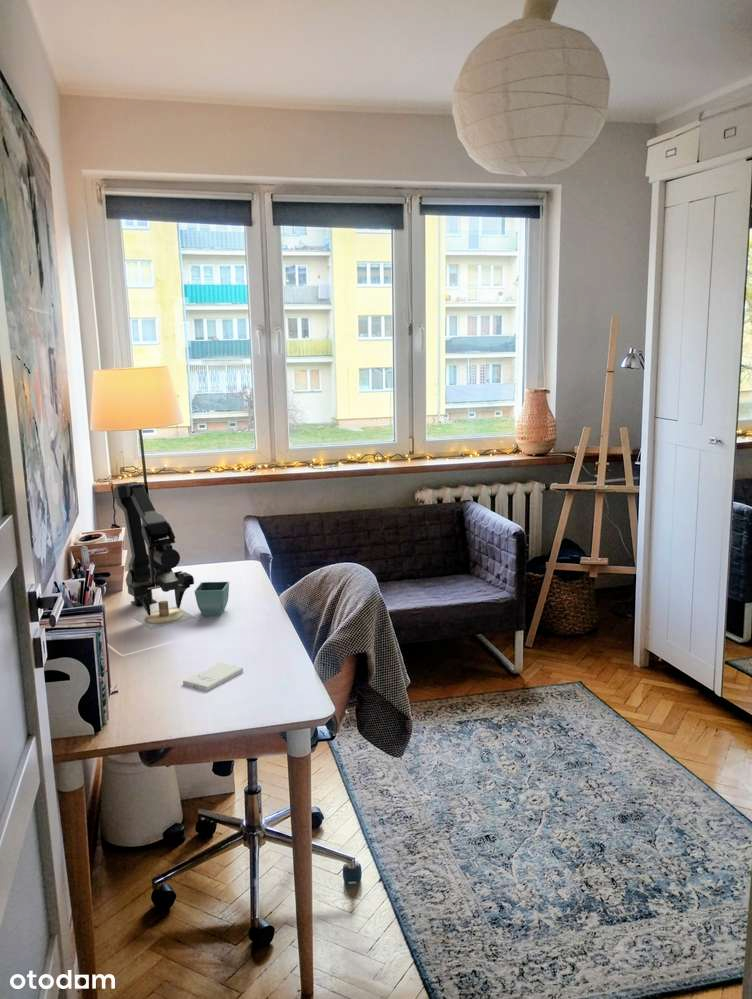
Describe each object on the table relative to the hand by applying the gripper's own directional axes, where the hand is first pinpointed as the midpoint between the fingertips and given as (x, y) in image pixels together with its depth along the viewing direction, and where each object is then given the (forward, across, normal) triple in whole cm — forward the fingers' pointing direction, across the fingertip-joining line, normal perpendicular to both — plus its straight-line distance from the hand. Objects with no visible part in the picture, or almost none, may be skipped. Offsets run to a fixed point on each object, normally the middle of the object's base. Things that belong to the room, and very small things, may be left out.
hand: (163, 611), depth 234 cm
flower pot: (+2, +13, -7) cm, 15 cm away
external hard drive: (+3, -9, -51) cm, 52 cm away
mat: (+2, 0, 0) cm, 2 cm away
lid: (+2, 0, 0) cm, 2 cm away
